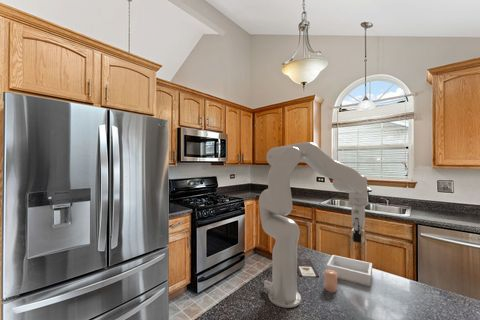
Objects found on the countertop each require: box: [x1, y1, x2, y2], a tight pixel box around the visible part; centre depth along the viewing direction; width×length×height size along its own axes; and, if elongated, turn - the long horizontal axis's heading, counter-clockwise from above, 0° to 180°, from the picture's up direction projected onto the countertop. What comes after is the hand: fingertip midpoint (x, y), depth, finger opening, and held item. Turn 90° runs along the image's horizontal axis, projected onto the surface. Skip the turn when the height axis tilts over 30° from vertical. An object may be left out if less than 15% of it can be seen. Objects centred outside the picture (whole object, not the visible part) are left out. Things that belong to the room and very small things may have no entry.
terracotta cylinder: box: [324, 269, 338, 293], centre depth 96 cm, size 5×5×7 cm
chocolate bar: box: [297, 258, 320, 278], centre depth 115 cm, size 9×1×18 cm
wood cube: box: [350, 227, 366, 244], centre depth 106 cm, size 5×5×5 cm
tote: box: [326, 254, 373, 288], centre depth 108 cm, size 18×14×5 cm
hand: (357, 239), depth 106 cm, fingers closed on wood cube, 4 cm apart
